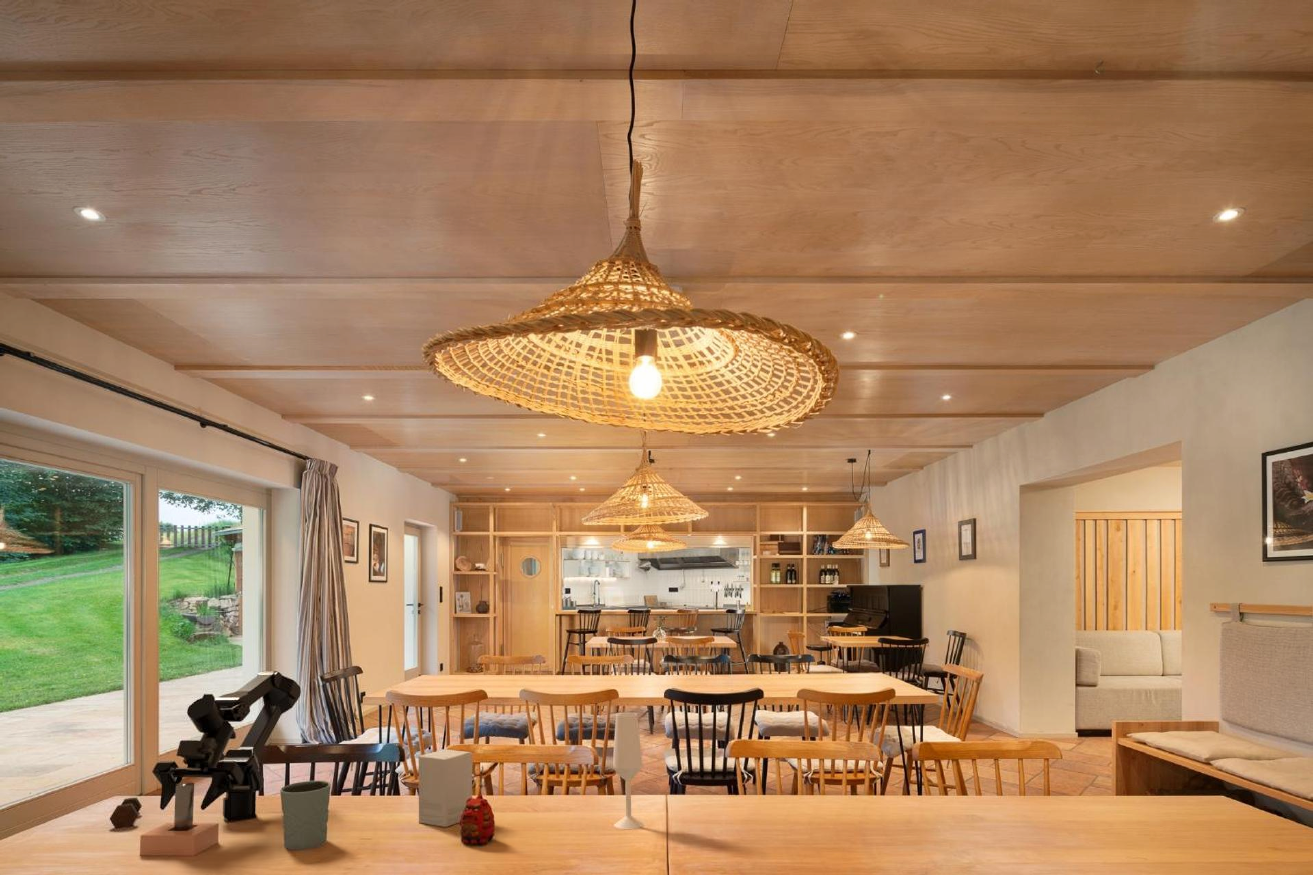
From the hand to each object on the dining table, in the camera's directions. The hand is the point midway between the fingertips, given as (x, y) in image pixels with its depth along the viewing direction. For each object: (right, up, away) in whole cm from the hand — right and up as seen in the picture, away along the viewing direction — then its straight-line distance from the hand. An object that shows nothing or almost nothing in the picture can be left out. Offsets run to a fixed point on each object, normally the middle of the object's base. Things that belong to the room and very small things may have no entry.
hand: (181, 808), depth 204 cm
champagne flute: (+96, -7, +8) cm, 96 cm away
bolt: (-24, -12, +23) cm, 36 cm away
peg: (0, -8, 0) cm, 8 cm away
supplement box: (+53, -9, +15) cm, 56 cm away
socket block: (0, -8, -1) cm, 8 cm away
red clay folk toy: (+64, -7, -1) cm, 64 cm away
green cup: (+26, -8, 0) cm, 28 cm away
